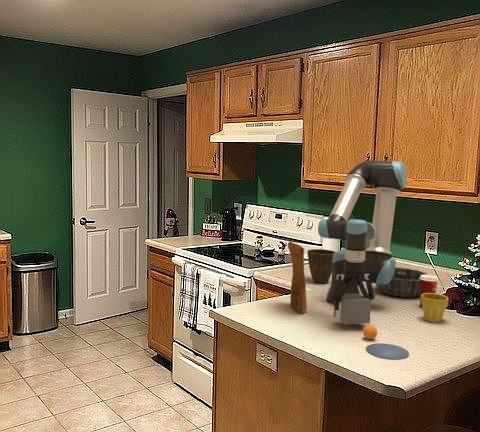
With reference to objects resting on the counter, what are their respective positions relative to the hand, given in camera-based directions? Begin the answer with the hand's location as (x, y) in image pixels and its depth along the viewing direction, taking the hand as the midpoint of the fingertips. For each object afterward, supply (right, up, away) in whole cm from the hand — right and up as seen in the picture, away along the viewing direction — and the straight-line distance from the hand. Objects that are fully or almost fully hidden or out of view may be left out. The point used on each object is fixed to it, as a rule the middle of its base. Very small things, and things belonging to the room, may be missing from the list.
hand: (351, 317), depth 200 cm
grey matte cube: (0, -1, 0) cm, 1 cm away
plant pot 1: (-1, +5, +68) cm, 69 cm away
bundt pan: (+35, +1, +52) cm, 63 cm away
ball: (+4, -3, -14) cm, 14 cm away
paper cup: (+39, -1, +29) cm, 49 cm away
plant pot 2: (+35, -3, +11) cm, 37 cm away
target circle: (+7, -7, -25) cm, 27 cm away
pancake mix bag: (-19, -1, +21) cm, 28 cm away
